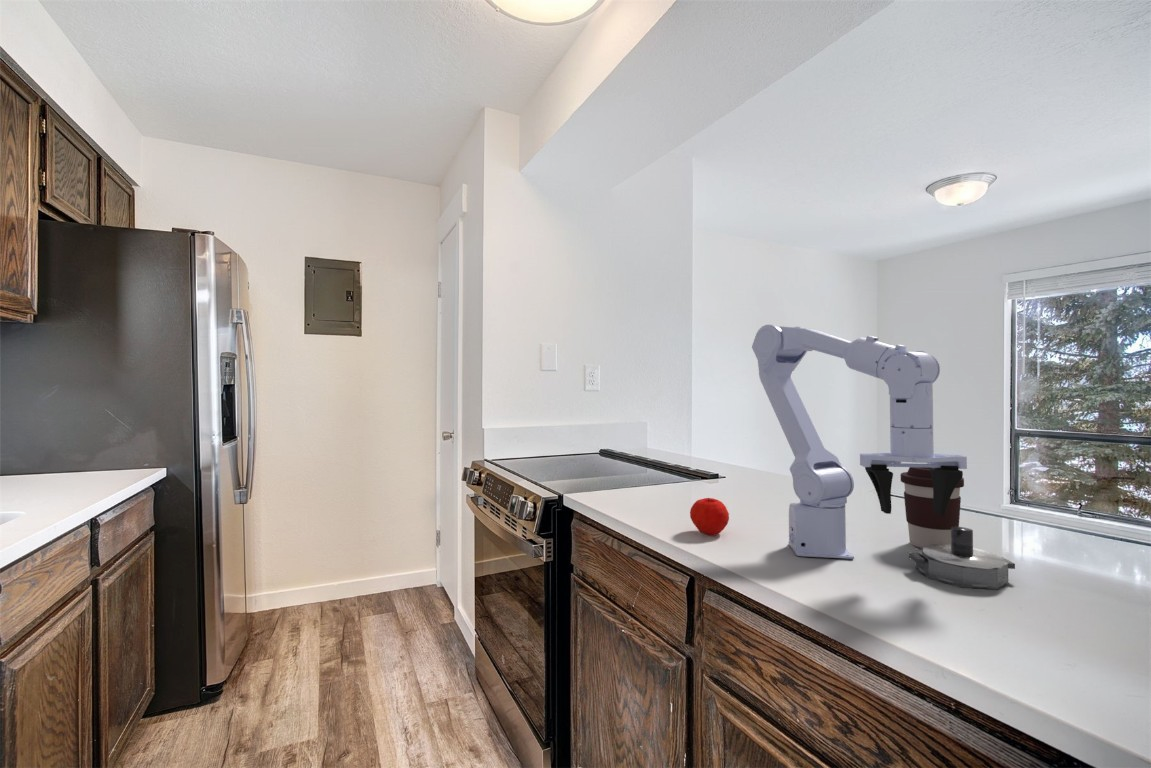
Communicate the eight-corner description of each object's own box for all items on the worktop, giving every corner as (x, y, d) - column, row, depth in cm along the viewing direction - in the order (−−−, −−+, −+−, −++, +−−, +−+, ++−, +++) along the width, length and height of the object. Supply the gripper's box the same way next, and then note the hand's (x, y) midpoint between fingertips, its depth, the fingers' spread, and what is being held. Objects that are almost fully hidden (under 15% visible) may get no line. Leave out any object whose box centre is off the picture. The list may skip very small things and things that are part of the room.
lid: (939, 571, 78) (938, 536, 78) (912, 550, 88) (912, 519, 88) (1020, 577, 75) (1019, 540, 75) (983, 554, 85) (982, 522, 85)
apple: (691, 527, 112) (690, 493, 112) (728, 529, 110) (728, 495, 110) (689, 537, 105) (688, 501, 105) (729, 540, 102) (729, 503, 102)
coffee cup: (976, 556, 92) (975, 472, 92) (915, 553, 94) (913, 470, 94) (948, 539, 101) (947, 463, 101) (893, 537, 103) (891, 463, 103)
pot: (929, 585, 78) (929, 566, 78) (898, 561, 89) (898, 544, 89) (1032, 591, 75) (1032, 571, 75) (987, 565, 86) (987, 548, 86)
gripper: (870, 428, 79) (871, 517, 78) (977, 429, 76) (979, 521, 76) (854, 425, 85) (856, 507, 85) (952, 426, 83) (953, 510, 83)
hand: (912, 513), depth 81 cm, fingers open, 7 cm apart
